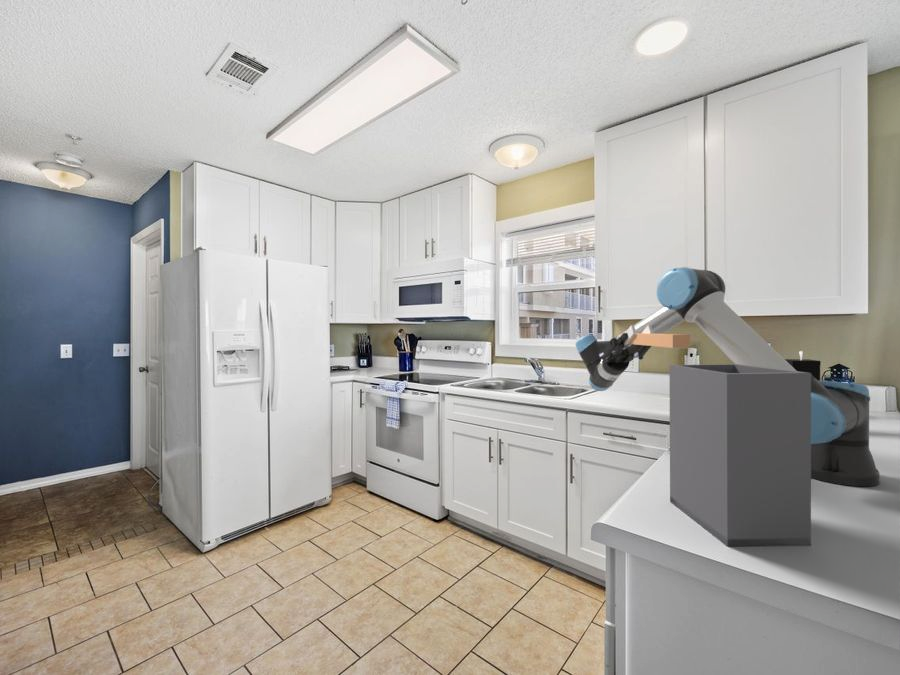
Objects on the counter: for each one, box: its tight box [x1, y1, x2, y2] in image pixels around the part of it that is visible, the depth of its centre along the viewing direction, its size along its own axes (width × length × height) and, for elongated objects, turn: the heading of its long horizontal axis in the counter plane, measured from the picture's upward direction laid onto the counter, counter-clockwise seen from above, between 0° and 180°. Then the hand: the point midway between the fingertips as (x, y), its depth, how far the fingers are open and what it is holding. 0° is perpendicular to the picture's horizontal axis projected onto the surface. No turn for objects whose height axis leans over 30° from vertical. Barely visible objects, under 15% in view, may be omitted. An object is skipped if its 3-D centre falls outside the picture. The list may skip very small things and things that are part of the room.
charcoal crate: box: [668, 363, 812, 547], centre depth 78 cm, size 14×18×29 cm
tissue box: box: [784, 350, 822, 381], centre depth 146 cm, size 8×8×28 cm
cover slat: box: [621, 332, 691, 349], centre depth 108 cm, size 28×4×3 cm, turn 0°
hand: (642, 329), depth 114 cm, fingers closed on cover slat, 4 cm apart
